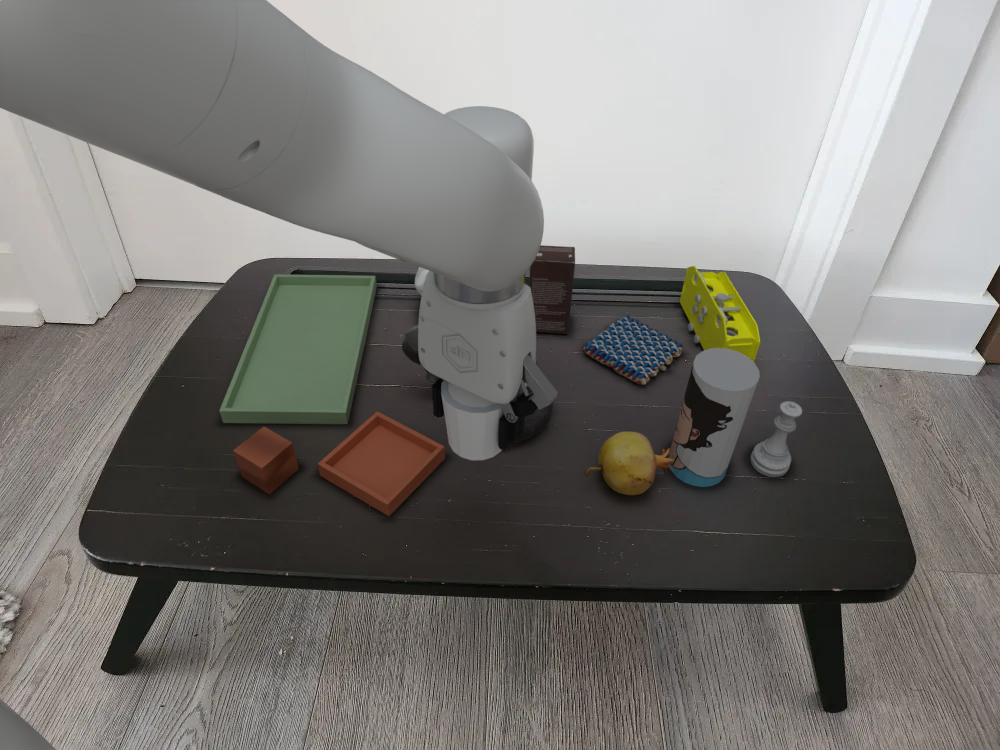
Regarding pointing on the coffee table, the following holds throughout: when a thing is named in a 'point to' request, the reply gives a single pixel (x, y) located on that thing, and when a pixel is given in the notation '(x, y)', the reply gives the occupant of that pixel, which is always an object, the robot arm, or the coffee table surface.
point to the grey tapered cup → (470, 423)
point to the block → (266, 460)
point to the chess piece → (776, 444)
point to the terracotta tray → (382, 462)
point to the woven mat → (633, 349)
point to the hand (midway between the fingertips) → (477, 423)
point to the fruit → (629, 463)
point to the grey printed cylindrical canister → (712, 415)
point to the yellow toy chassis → (718, 313)
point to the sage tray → (303, 352)
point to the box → (552, 288)
